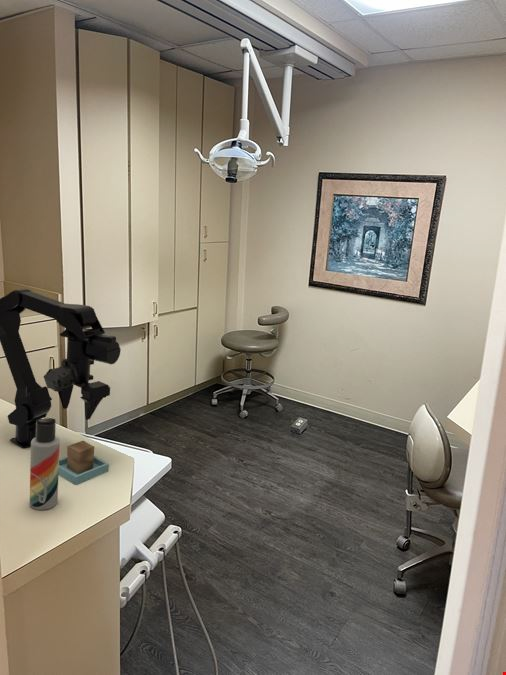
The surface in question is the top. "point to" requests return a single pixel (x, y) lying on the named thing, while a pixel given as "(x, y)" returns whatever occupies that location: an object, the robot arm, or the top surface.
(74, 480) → the teal tray
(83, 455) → the walnut block
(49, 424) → the lotion bottle
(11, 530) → the top surface
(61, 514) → the top surface
